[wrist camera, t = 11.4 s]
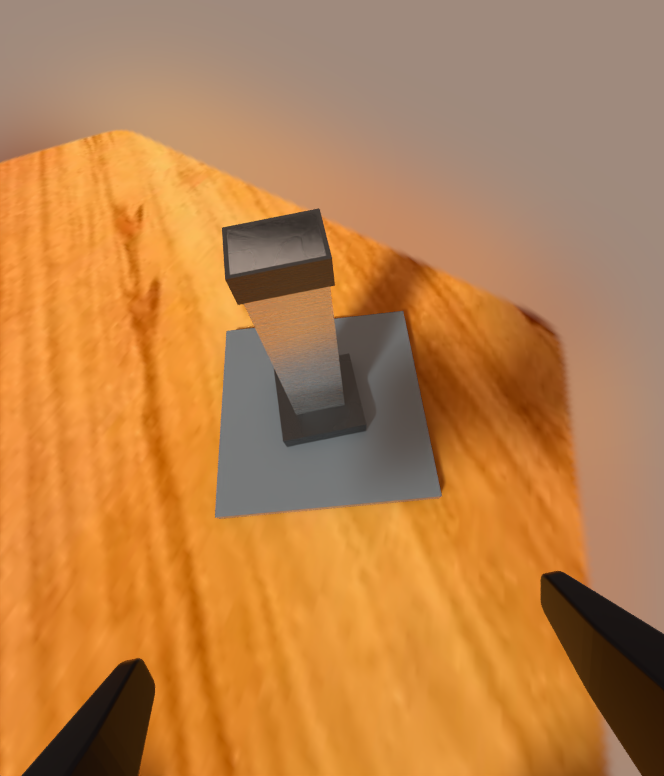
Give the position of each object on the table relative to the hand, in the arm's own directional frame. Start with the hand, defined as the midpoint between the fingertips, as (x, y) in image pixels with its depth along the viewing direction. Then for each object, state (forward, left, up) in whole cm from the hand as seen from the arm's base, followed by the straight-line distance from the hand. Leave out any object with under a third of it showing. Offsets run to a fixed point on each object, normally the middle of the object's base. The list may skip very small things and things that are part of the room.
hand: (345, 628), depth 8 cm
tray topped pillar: (+11, +1, -12) cm, 16 cm away
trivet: (+11, +1, -12) cm, 16 cm away
